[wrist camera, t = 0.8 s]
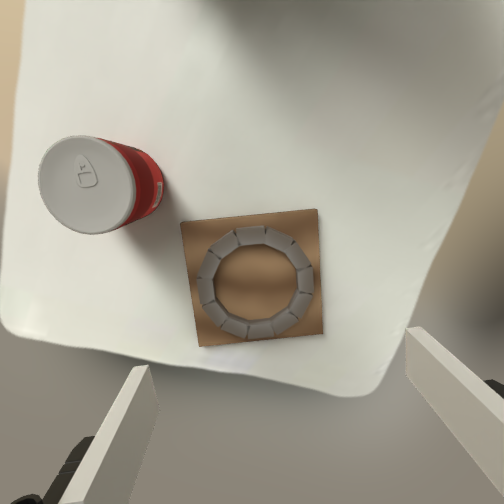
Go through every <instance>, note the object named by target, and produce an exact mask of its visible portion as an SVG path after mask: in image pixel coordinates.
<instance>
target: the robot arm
mask: <svg viewBox="0 0 504 504" xmlns="http://www.w3.org/2000/svg"><path fill="white" fill-rule="evenodd" d="M405 340H406V376H407V377H408V379H409V380H410V381H411V382H412V384H413V385H414V386H415V387H416V389H418V391H419V392H420V394H421V395H422V396H423V397H424V399H425V400H426V401H427V402H428V404H429V405H430V406H431V407H432V408H433V410H434V411H435V412H436V413H437V415H438V416H439V417H440V418H441V419H442V421H443V422H444V423H445V425H446V426H447V427H448V428H449V430H450V431H451V432H452V433H453V435H454V436H455V437H456V438H457V440H458V441H459V442H460V443H461V445H462V446H463V447H464V448H465V450H466V451H467V452H468V453H469V455H470V456H471V457H472V458H473V460H474V461H475V462H476V463H477V465H478V466H479V467H480V468H481V470H482V471H483V472H484V473H485V475H486V476H487V477H488V478H489V480H490V481H491V482H492V483H493V485H494V486H495V487H496V488H497V490H498V491H499V492H500V493H501V494H502V496H503V497H504V385H502V384H500V383H498V382H497V381H495V380H486V381H482V380H481V379H480V378H479V377H478V376H477V375H475V374H474V373H473V372H472V371H471V370H470V369H469V368H467V367H466V366H465V365H464V364H463V363H462V362H460V361H459V360H458V359H457V358H456V357H454V355H452V354H451V353H450V352H449V351H448V350H447V349H446V348H444V347H443V346H442V345H441V344H440V343H439V342H437V341H436V340H435V339H434V338H433V337H432V336H431V335H430V334H428V333H427V332H426V331H425V330H424V329H423V328H422V327H413V328H406V329H405ZM159 411H160V407H159V404H158V400H157V396H156V392H155V388H154V384H153V381H152V377H151V373H150V369H149V366H148V365H145V366H137V367H133V369H132V371H131V372H130V374H129V376H128V378H127V380H126V381H125V383H124V385H123V387H122V389H121V391H120V392H119V394H118V396H117V398H116V400H115V401H114V403H113V405H112V407H111V409H110V410H109V412H108V414H107V416H106V418H105V420H104V421H103V423H102V425H101V427H100V429H99V430H98V433H97V434H96V436H91V437H85V438H84V439H83V440H82V441H81V442H80V443H79V444H78V445H77V446H76V447H75V448H74V449H73V450H72V452H71V453H70V455H69V457H68V458H67V460H66V462H65V464H64V465H63V467H62V468H61V470H60V471H59V475H57V477H56V478H55V480H54V481H53V483H52V485H51V486H50V488H49V490H48V491H47V493H46V494H45V496H44V498H43V499H41V498H40V496H39V495H35V494H31V495H26V496H23V497H21V498H19V499H17V500H15V501H13V502H12V503H11V504H128V502H129V499H130V496H131V493H132V490H133V487H134V485H135V481H136V479H137V476H138V473H139V470H140V467H141V464H142V461H143V458H144V455H145V452H146V449H147V446H148V444H149V441H150V437H151V435H152V432H153V429H154V426H155V423H156V420H157V417H158V414H159Z"/></svg>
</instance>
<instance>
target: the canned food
mask: <svg viewBox="0 0 504 504" xmlns="http://www.w3.org/2000/svg"><path fill="white" fill-rule="evenodd" d="M38 185H39V190H40V194H41V197H42V199H43V202H44V204H45V205H46V207H47V209H48V210H49V212H50V213H51V214H52V215H53V216H54V217H55V219H56V220H58V221H59V222H60V223H61V224H63V225H64V226H66V227H67V228H69V229H71V230H73V231H76V232H79V233H83V234H89V235H93V234H103V233H107V232H111V231H113V230H116V229H118V228H120V227H123V226H125V225H127V224H129V223H132V222H134V221H136V220H138V219H141V218H143V217H145V216H147V215H149V214H150V213H152V212H153V211H154V210H155V209H156V208H157V206H158V205H159V203H160V201H161V199H162V195H163V189H164V184H163V178H162V174H161V171H160V169H159V167H158V165H157V164H156V163H155V161H154V160H153V159H152V158H151V157H150V156H149V155H148V154H146V153H145V152H143V151H141V150H139V149H136V148H134V147H130V146H126V145H123V144H119V143H115V142H112V141H108V140H104V139H101V138H96V137H90V136H70V137H66V138H63V139H61V140H59V141H57V142H56V143H54V144H53V145H52V146H51V147H50V148H49V149H48V150H47V151H46V153H45V154H44V156H43V158H42V160H41V163H40V165H39V171H38Z"/></svg>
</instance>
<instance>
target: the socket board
mask: <svg viewBox="0 0 504 504" xmlns="http://www.w3.org/2000/svg"><path fill="white" fill-rule="evenodd" d="M180 226H181V233H182V239H183V246H184V252H185V259H186V265H187V272H188V278H189V285H190V291H191V297H192V304H193V310H194V317H195V323H196V330H197V336H198V343H199V347H202V346H211V345H221V344H230V343H240V342H249V341H259V340H268V339H278V338H287V337H297V336H306V335H316V334H323V324H322V301H321V279H320V256H319V233H318V211H317V209H306V210H297V211H287V212H277V213H267V214H257V215H247V216H237V217H227V218H217V219H207V220H197V221H187V222H181V223H180Z"/></svg>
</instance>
